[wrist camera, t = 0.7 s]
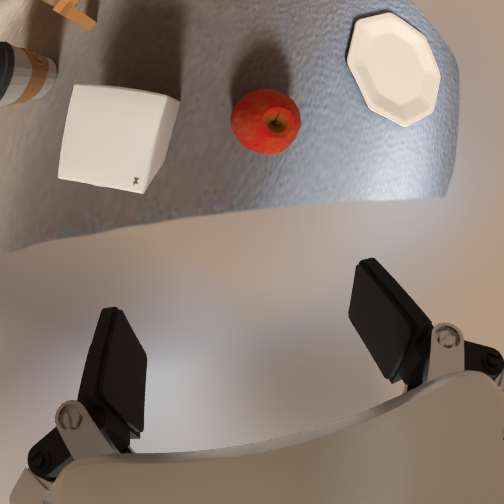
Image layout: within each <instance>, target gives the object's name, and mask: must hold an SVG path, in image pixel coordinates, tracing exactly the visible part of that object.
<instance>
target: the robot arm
mask: <svg viewBox="0 0 504 504" xmlns="http://www.w3.org/2000/svg"><path fill="white" fill-rule="evenodd" d="M349 319H350V321H351V322H352V324H353V326H354V327H355V329H356V331H357V332H358V334H359V335H360V337H361V339H362V340H363V342H364V343H365V345H366V347H367V349H368V350H369V352H370V354H371V355H372V357H373V359H374V360H375V362H376V364H377V365H378V367H379V369H380V371H381V372H382V374H383V376H384V377H385V378H386V379H389V380H390V382H391V383H392V384H393V383H395V382H397V381H399V380H403V382H404V383H405V386H404V391H403V394H402V395H400V396H398V397H395V398H393V399H391V400H389V401H386V402H384V403H382V404H380V405H377V406H375V407H372V408H370V409H368V410H365V411H363V412H360V413H358V414H355V415H352V416H350V417H347V418H344V419H342V420H338V421H335V422H333V423H329V424H326V425H323V426H320V427H317V428H314V429H310V430H306V431H303V432H299V433H296V434H292V435H288V436H284V437H280V438H275V439H271V440H266V441H262V442H256V443H251V444H245V445H239V446H233V447H227V448H219V449H211V450H201V451H191V452H174V453H142V454H140V453H135V452H134V450H133V449H132V448H131V447H130V446H129V445H130V439H140V432H143V430H144V402H145V383H146V369H147V356H146V353H145V351H144V349H143V348H142V346H141V344H140V342H139V341H138V339H137V337H136V335H135V333H134V332H133V330H132V328H131V326H130V324H129V322H128V320H127V319H126V316H125V314H124V313H123V311H122V310H119V309H118V308H117V307H110V308H103V309H102V311H101V314H100V317H99V321H98V323H97V327H96V330H95V334H94V337H93V341H92V344H91V345H90V348H89V352H88V355H87V359H86V363H85V367H84V371H83V376H82V380H81V385H80V389H79V394H78V399H77V401H75V400H70V401H66V402H65V403H63V404H62V405H61V406H60V407H59V408H58V410H57V412H56V415H55V423H56V427H55V428H54V429H53V430H52V431H51V432H49V434H47V435H46V436H45V437H44V438H42V439H41V440H40V441H39V442H38V443H37V444H35V445H34V446H33V447H32V448H31V450H30V451H29V454H28V465H29V469H28V468H25V469H24V471H23V473H22V474H21V476H20V478H19V480H18V481H17V483H16V485H15V487H14V489H13V491H12V493H11V495H10V504H504V360H503V357H502V355H501V354H500V353H499V352H498V351H497V350H496V349H494V348H491V347H487V346H483V345H480V344H476V343H472V342H468V341H465V340H464V338H463V335H462V333H461V331H460V330H459V329H458V328H457V327H456V326H454V325H453V324H450V323H439V324H437V325H436V326H435V327H433V325H432V324H431V323H432V322H431V321H430V320H429V318H428V317H427V316H426V315H425V313H424V312H423V311H422V310H421V309H420V308H419V307H418V305H417V304H416V303H415V302H414V301H413V299H412V298H411V297H410V296H409V295H408V294H407V293H406V291H405V290H404V289H403V288H402V287H401V286H400V285H399V284H398V283H397V281H396V280H395V279H394V278H393V277H392V276H391V275H390V274H389V273H388V272H387V271H386V270H385V269H384V268H383V267H382V265H381V264H380V263H379V262H378V261H377V260H376V259H375V258H368V259H364V260H361V261H360V262H359V264H358V265H357V266H356V270H355V277H354V283H353V289H352V295H351V301H350V307H349Z"/></svg>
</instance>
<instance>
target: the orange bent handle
mask: <svg viewBox="0 0 504 504" xmlns="http://www.w3.org/2000/svg"><path fill="white" fill-rule="evenodd" d="M79 1H80V0H60V1H59V2H58V4H57V5H56V6H55V7H54V8H53V11H55V12H57V13H59V14H61V15H62V16H64V17H66V18H68V19H70V20H71V21H73V22H75V23H76V24H78V25H80V26H82V27H83V28H85V29H87V30H89V31H90V30H91V29H92V27H93V26H94V25H95V24H96V23H97V22H95V21H94V20H93V19H91V18H90V17H88V16H87V15H86V14H84V13H83V12H82V11H80V10H79V9H77V8H76V7H75V5H76V4H77V3H78V2H79Z"/></svg>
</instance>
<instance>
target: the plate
mask: <svg viewBox="0 0 504 504" xmlns="http://www.w3.org/2000/svg"><path fill="white" fill-rule="evenodd" d="M346 60H347V65H348V67H349V69H350V71H351V73H352V75H353V77H354V79H355V81H356V83H357V85H358V87H359V89H360V92H361V94H362V96H363V98H364V100H365V103H366V105H367V107H368V108H369V109H370V110H371V111H373V112H376V113H378V114H380V115H382V116H384V117H386V118H387V119H389V120H391V121H393V122H395V123H397V124H399V125H401V126H402V127H408V126H409V125H411V124H413V123H415V122H417V121H418V120H420V119H422V118H424V117H426V116H427V115H429V114H431V113H432V112H433V110H434V107H435V102H436V98H437V93H438V88H439V83H440V72H439V69H438V67H437V64H436V61H435V59H434V56H433V54H432V51H431V49H430V47H429V44H428V42H427V40H426V38H425V37H424V36H423V34H421V33H420V32H419V31H417V30H416V29H415V28H413V27H412V26H411V25H409V24H408V23H406V22H405V21H403V20H402V19H400V18H399V17H397V16H396V15H394V14H393V13H389V12H388V13H383V14H379V15H374V16H370V17H366V18H362V19H359V20H357V21H356V22H355V25H354V30H353V34H352V38H351V42H350V47H349V51H348V55H347V59H346Z"/></svg>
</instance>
